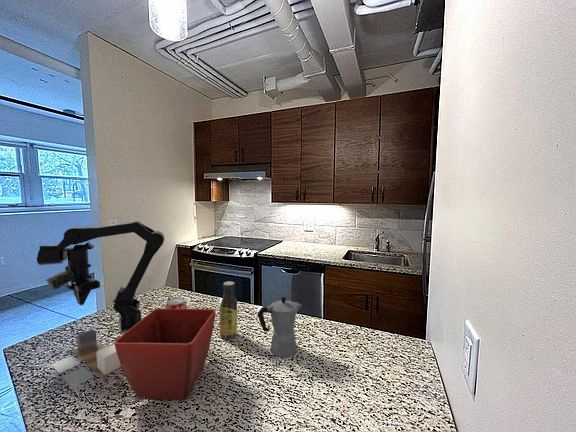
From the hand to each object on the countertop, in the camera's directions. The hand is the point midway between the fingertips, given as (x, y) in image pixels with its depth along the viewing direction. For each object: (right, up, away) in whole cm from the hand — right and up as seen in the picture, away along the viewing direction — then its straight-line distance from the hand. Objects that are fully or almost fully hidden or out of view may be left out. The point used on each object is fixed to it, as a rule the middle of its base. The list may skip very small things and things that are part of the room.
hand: (81, 304), depth 93 cm
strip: (+16, -13, -13) cm, 24 cm away
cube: (+23, -12, -17) cm, 31 cm away
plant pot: (+43, -14, -22) cm, 50 cm away
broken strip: (+12, -14, -18) cm, 26 cm away
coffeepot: (+72, -13, -7) cm, 74 cm away
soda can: (+34, -12, +2) cm, 36 cm away
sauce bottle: (+53, -12, +2) cm, 54 cm away
